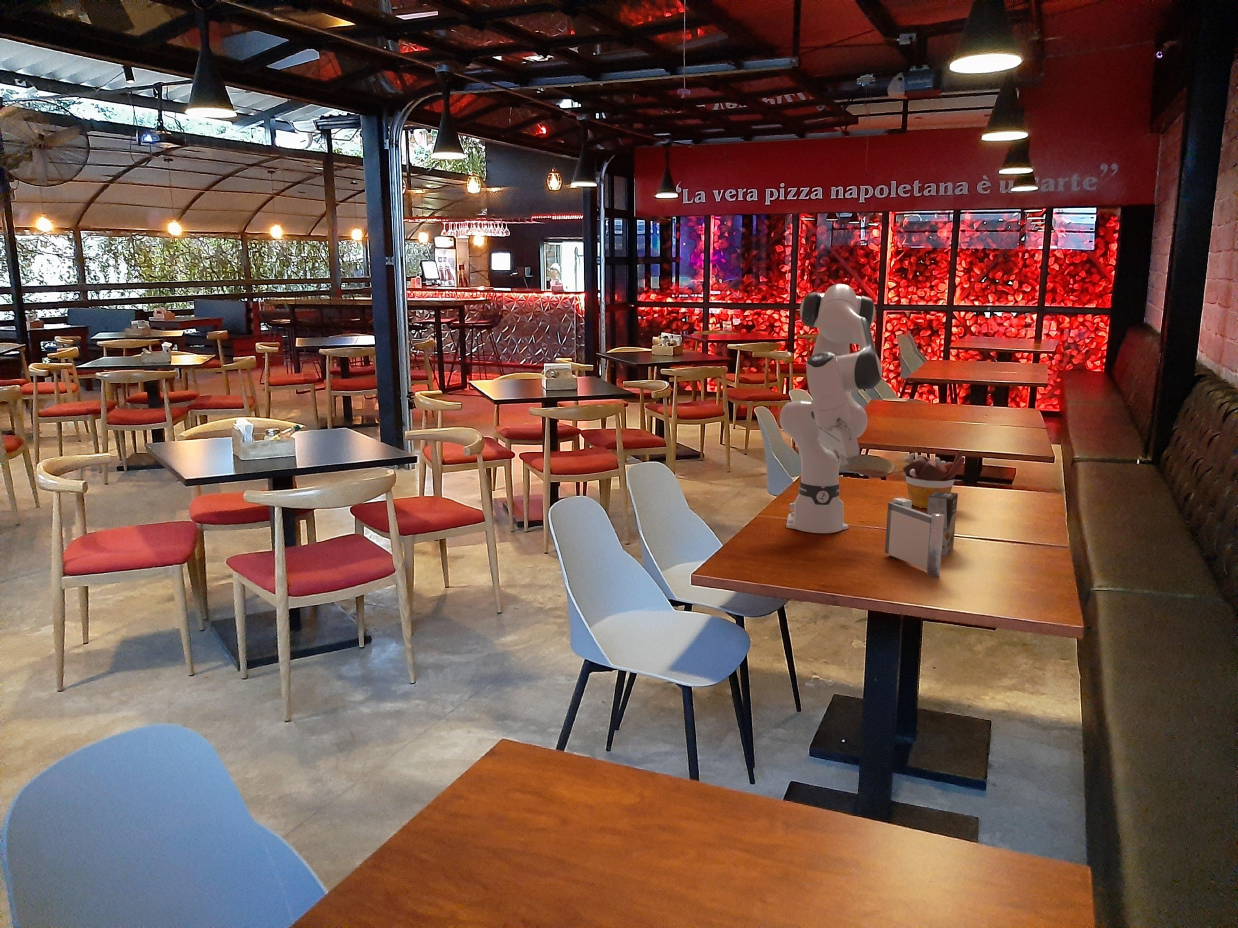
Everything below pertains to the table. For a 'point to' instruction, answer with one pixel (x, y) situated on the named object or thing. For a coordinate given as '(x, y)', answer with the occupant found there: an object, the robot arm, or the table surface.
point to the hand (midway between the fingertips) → (842, 463)
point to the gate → (908, 535)
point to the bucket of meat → (929, 476)
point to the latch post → (904, 503)
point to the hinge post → (935, 545)
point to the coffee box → (945, 515)
